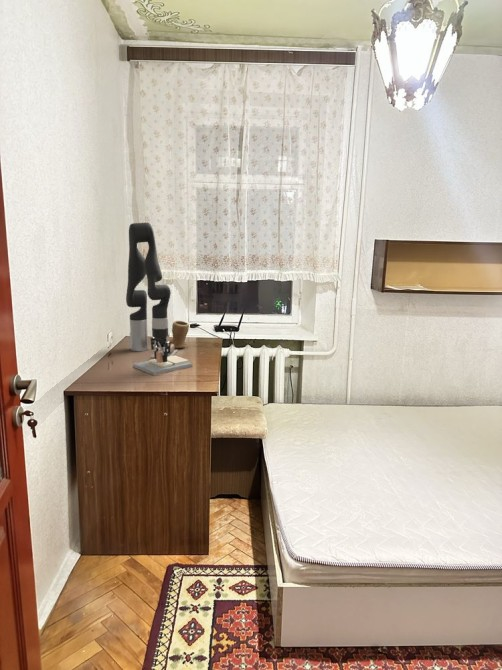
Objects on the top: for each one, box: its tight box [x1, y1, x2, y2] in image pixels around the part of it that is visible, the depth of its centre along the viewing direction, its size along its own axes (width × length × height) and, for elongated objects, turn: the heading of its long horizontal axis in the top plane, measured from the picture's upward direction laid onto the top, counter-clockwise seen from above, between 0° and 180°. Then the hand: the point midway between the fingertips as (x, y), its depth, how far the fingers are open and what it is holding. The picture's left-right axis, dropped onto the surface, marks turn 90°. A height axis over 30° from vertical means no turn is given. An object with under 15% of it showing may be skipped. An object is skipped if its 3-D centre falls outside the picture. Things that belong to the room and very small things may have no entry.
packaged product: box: [150, 344, 179, 360], centre depth 238 cm, size 18×5×10 cm
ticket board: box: [132, 354, 193, 376], centre depth 215 cm, size 18×22×2 cm
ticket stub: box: [148, 351, 173, 367], centre depth 214 cm, size 12×6×6 cm, turn 45°
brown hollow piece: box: [168, 320, 190, 349], centre depth 255 cm, size 15×12×15 cm
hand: (160, 360), depth 214 cm, fingers open, 6 cm apart
